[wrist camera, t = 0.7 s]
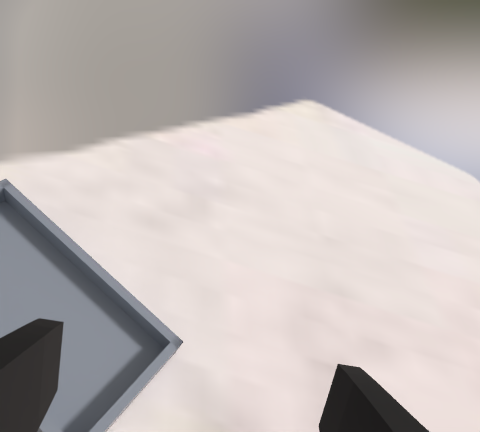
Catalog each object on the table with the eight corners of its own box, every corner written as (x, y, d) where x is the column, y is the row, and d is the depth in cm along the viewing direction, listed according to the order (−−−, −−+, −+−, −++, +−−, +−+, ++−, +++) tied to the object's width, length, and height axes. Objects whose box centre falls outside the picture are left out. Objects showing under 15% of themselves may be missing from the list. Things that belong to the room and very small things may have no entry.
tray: (73, 468, 20) (74, 464, 19) (-128, 259, 23) (-140, 241, 21) (175, 351, 26) (183, 341, 25) (8, 196, 28) (5, 178, 27)
